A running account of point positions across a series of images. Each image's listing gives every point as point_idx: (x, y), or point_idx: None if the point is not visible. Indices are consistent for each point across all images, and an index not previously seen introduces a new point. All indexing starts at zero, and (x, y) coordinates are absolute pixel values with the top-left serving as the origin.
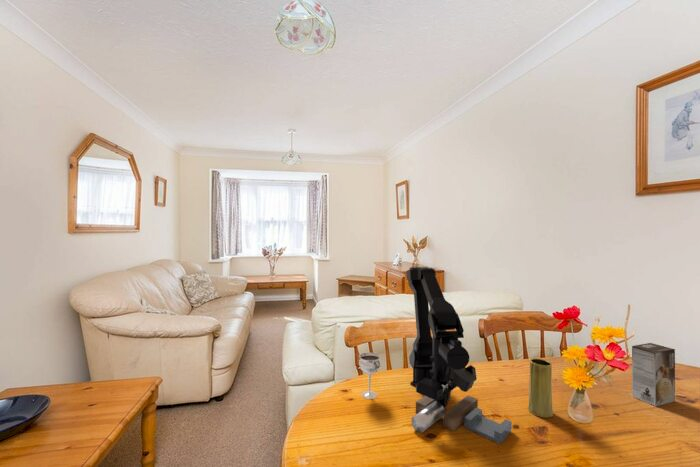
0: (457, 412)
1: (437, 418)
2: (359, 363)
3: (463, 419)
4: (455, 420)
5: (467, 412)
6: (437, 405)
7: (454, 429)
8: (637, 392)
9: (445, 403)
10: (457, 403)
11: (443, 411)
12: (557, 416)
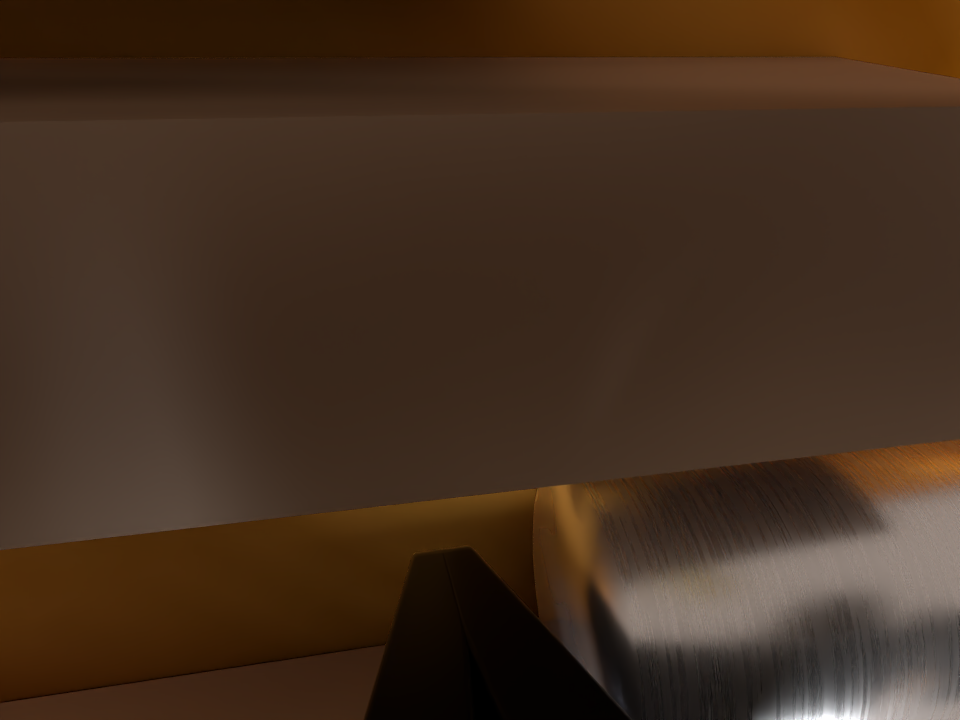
0: (671, 219)
1: (887, 450)
2: None
3: (359, 70)
4: (920, 91)
5: (37, 87)
6: (795, 702)
7: (825, 59)
8: None
9: (519, 678)
10: (94, 526)
11: (658, 517)
12: None
